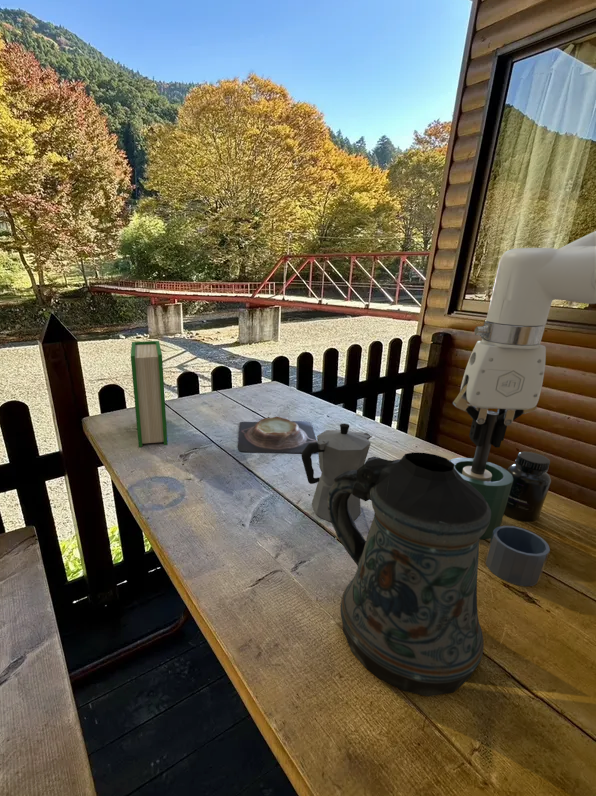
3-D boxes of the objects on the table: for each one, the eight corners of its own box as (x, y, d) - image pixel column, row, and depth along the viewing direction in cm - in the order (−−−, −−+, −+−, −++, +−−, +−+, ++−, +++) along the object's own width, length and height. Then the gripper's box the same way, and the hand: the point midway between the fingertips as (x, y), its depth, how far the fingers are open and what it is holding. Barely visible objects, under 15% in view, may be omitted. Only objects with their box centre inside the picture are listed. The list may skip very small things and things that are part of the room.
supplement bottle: (503, 521, 76) (519, 463, 71) (490, 501, 82) (504, 447, 77) (545, 526, 74) (565, 468, 70) (529, 505, 80) (546, 450, 76)
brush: (478, 490, 75) (499, 408, 69) (490, 504, 71) (513, 418, 65) (453, 489, 75) (472, 407, 69) (463, 502, 71) (483, 417, 65)
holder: (523, 558, 66) (532, 527, 64) (548, 590, 60) (560, 557, 58) (477, 554, 67) (485, 523, 65) (497, 586, 61) (507, 553, 59)
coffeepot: (346, 490, 86) (355, 409, 79) (379, 513, 78) (392, 427, 71) (283, 508, 80) (288, 423, 73) (313, 536, 72) (321, 443, 65)
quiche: (310, 422, 121) (311, 410, 119) (321, 454, 102) (322, 439, 100) (239, 421, 122) (239, 409, 120) (237, 452, 103) (237, 437, 101)
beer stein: (497, 718, 43) (565, 521, 34) (311, 672, 48) (329, 489, 39) (459, 600, 58) (500, 441, 49) (320, 574, 63) (334, 425, 54)
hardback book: (167, 444, 107) (162, 354, 98) (138, 447, 106) (130, 356, 97) (163, 420, 123) (158, 340, 115) (138, 422, 122) (131, 341, 113)
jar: (482, 510, 79) (495, 459, 75) (508, 543, 70) (525, 487, 66) (428, 506, 80) (438, 456, 76) (446, 539, 71) (459, 483, 67)
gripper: (466, 338, 60) (442, 450, 67) (585, 340, 58) (548, 456, 65) (447, 329, 67) (427, 432, 74) (553, 331, 65) (523, 437, 72)
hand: (484, 442), depth 69 cm, fingers closed on brush, 2 cm apart
